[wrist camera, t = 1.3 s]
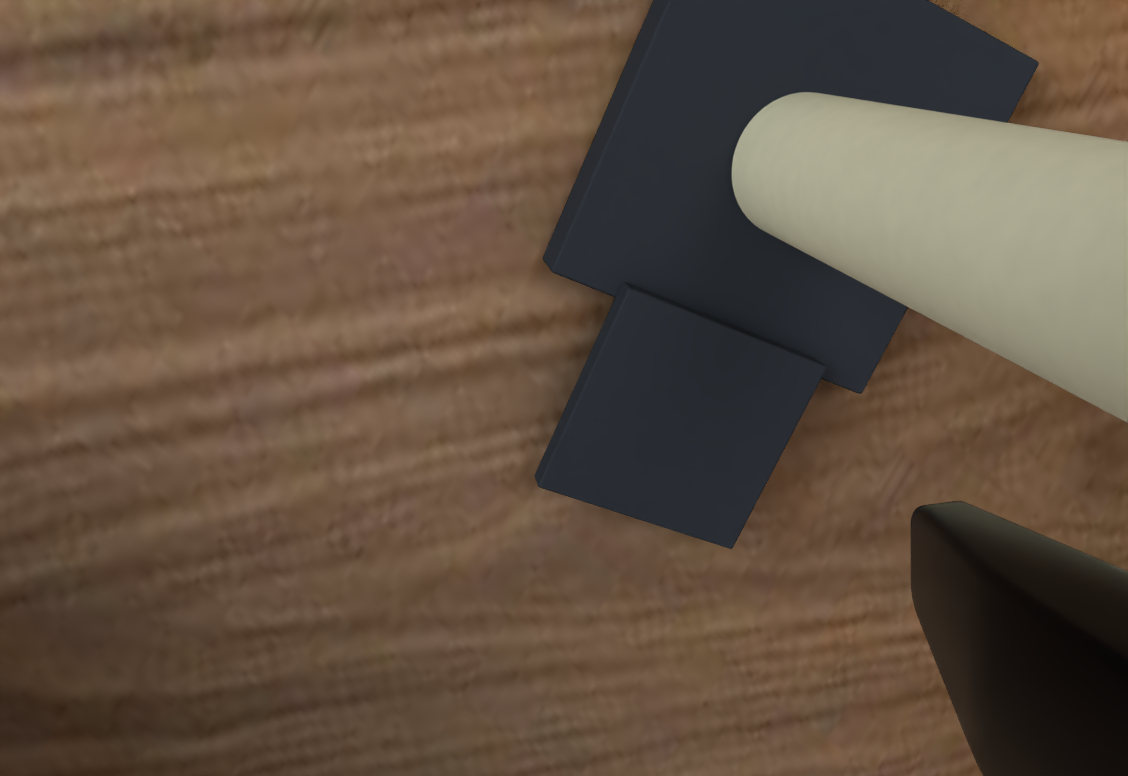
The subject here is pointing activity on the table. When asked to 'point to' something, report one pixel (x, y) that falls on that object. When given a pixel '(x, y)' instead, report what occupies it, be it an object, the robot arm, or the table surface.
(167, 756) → the table surface
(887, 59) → the tongue pad
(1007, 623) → the robot arm
